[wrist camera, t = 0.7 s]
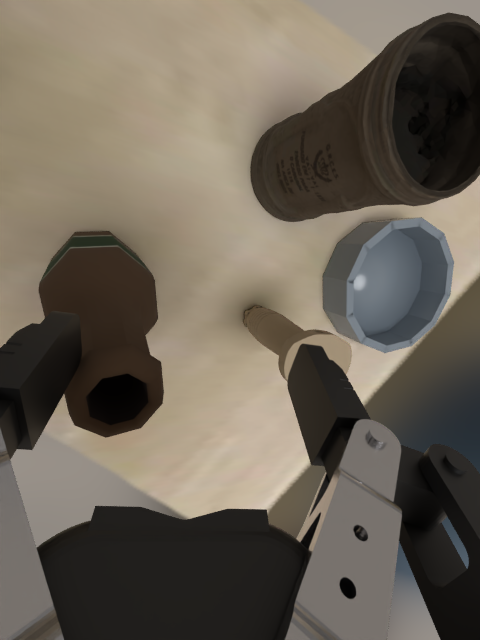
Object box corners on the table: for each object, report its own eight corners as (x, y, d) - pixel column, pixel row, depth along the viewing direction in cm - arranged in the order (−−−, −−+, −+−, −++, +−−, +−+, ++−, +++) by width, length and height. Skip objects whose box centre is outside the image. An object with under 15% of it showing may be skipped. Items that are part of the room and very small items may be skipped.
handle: (232, 297, 37) (289, 333, 23) (279, 300, 39) (356, 335, 26) (228, 335, 38) (280, 390, 25) (274, 335, 40) (345, 387, 27)
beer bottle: (64, 214, 28) (12, 267, 8) (146, 243, 32) (246, 328, 12) (44, 291, 30) (-41, 496, 10) (125, 310, 34) (182, 482, 14)
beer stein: (275, 243, 37) (427, 239, 19) (226, 159, 33) (363, 51, 15) (362, 173, 39) (569, 112, 21) (327, 87, 35) (551, -82, 17)
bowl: (301, 273, 39) (323, 278, 35) (396, 194, 41) (429, 189, 36) (354, 361, 46) (379, 375, 42) (434, 291, 48) (465, 297, 43)
